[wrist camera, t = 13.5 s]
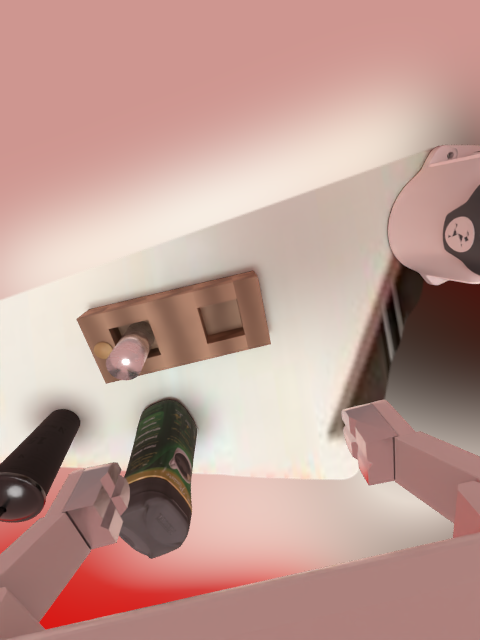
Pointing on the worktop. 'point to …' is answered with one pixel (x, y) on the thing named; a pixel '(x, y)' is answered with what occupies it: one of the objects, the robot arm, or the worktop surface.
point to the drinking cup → (35, 466)
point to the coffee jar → (160, 480)
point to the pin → (131, 351)
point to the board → (183, 323)
